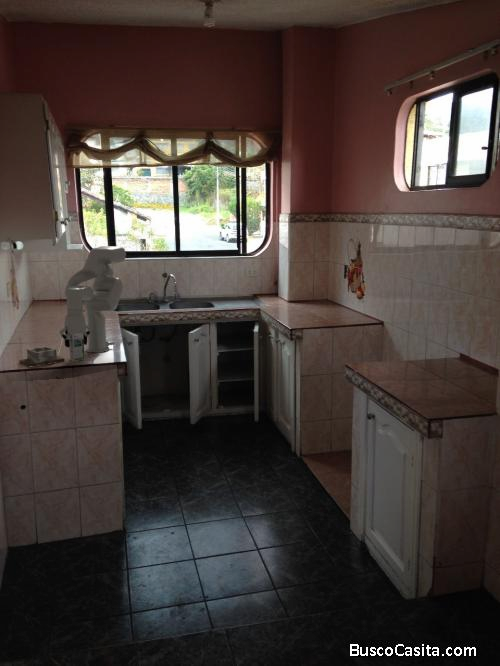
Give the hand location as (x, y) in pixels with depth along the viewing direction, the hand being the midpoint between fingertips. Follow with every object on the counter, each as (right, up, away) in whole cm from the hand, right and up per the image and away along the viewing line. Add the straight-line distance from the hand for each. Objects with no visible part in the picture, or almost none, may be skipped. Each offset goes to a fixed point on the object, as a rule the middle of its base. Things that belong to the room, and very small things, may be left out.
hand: (76, 345), depth 303 cm
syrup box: (0, -8, +2) cm, 8 cm away
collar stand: (-16, -8, -3) cm, 18 cm away
